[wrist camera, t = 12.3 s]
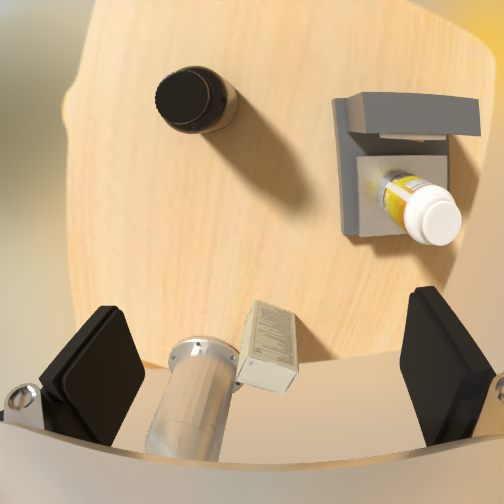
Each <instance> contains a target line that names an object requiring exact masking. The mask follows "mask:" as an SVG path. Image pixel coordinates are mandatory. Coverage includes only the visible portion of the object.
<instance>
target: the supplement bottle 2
mask: <svg viewBox="0 0 504 504" xmlns="http://www.w3.org/2000/svg"><path fill="white" fill-rule="evenodd" d="M382 199H383V206H384V209H385V211H386V212H387V214H388V215H389V216H390V217H391V218H392V219H393V220H394V221H395V222H396V223H397V224H398V225H399V226H400V227H401V228H402V229H403V230H404V231H405V232H406V233H407V234H409V235H410V236H411V237H412V238H413V239H414V240H415V241H417V242H419V243H421V244H424V245H436V246H444V245H447V244H449V243H451V242H452V241H453V240H454V239H455V238H456V237H457V236H458V234H459V232H460V229H461V225H462V217H461V213H460V211H459V209H458V207H457V206H456V203H455V201H454V198H453V197H452V195H451V194H450V193H449V192H448V191H447V190H446V189H444V188H442V187H440V186H438V185H436V184H434V183H432V182H429V181H427V180H425V179H422V178H420V177H418V176H415V175H413V174H408V173H403V174H399V175H396V176H394V177H393V178H392V179H391V180H390V181H389V182H388V183H387V184H386V186H385V188H384V191H383V197H382Z"/></svg>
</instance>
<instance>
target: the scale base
mask: <svg viewBox="0 0 504 504" xmlns="http://www.w3.org/2000/svg"><path fill="white" fill-rule="evenodd" d="M332 107H333V116H334V125H335V136H336V147H337V159H338V173H339V189H340V208H341V231H342V233H343V235H344V236H349V235H358V201H357V179H356V161H355V156H366V155H446V156H447V191H448V192H449V140H448V134H452V135H469V136H481V129H480V113H479V101H478V99H472V98H464V97H455V96H445V95H433V94H418V93H396V92H361V93H359V94H356V95H354V96H351V97H349V98H336V99H333V100H332Z"/></svg>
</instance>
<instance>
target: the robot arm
mask: <svg viewBox="0 0 504 504" xmlns="http://www.w3.org/2000/svg"><path fill="white" fill-rule="evenodd" d="M239 355H240V354H239V353H238V352H237V351H236V350H235V349H234V348H232V347H231V346H229V345H228V344H226V343H224V342H222V341H220V340H216V339H213V338H209V337H190V338H187V339H184V340H182V341H180V342H178V343H177V344H176V345H175V346H174V347H173V349H172V351H171V353H170V355H169V360H168V364H169V369H170V371H171V373H172V375H171V378H170V380H169V382H168V385H167V387H166V389H165V392H164V394H163V396H162V399H161V401H160V404H159V406H158V408H157V411H156V413H155V415H154V418H153V421H152V423H151V425H150V428H149V430H148V433H147V435H146V438H145V452H146V454H144V453H138V452H133V451H127V450H122V449H117V448H113V447H111V445H112V443H113V441H114V439H115V437H116V435H117V433H118V431H119V429H120V427H121V425H122V423H123V421H124V419H125V416H126V414H127V412H128V410H129V408H130V406H131V404H132V402H133V400H134V398H135V396H136V394H137V392H138V390H139V388H140V386H141V384H142V382H143V380H144V378H145V370H144V367H143V364H142V362H141V359H140V357H139V354H138V352H137V349H136V346H135V344H134V341H133V339H132V336H131V333H130V330H129V328H128V325H127V322H126V319H125V316H124V313H123V312H122V311H121V310H119V308H118V307H117V306H100V307H99V308H98V309H97V310H96V311H95V312H94V314H93V315H92V316H91V317H90V318H89V319H88V320H87V321H86V323H85V324H84V325H83V326H82V327H81V328H80V329H79V331H78V332H77V333H76V334H75V335H74V336H73V338H72V339H71V340H70V341H69V342H68V343H67V345H66V346H65V347H64V348H63V349H62V350H61V352H60V353H59V354H58V355H57V356H56V358H55V359H54V360H53V361H52V363H51V364H50V365H49V366H48V368H47V369H46V370H45V371H44V372H43V374H42V375H41V376H40V377H39V380H40V382H41V383H42V385H43V387H42V389H41V390H40V388H39V387H38V386H37V385H35V384H33V383H26V384H22V385H19V386H17V387H15V388H14V389H13V390H11V392H10V393H9V394H8V395H7V397H6V399H5V403H4V410H3V411H0V504H504V372H503V373H501V374H498V375H496V373H495V372H494V370H493V369H492V367H491V365H490V364H489V362H488V361H487V359H486V358H485V356H484V354H483V353H482V351H481V350H480V348H479V347H478V346H477V344H476V343H475V341H474V340H473V338H472V337H471V335H470V334H469V332H468V331H467V330H466V328H465V327H464V325H463V324H462V323H461V322H460V320H459V319H458V318H457V316H456V314H455V313H454V312H453V310H452V309H451V308H450V306H449V305H448V304H447V302H446V301H445V300H444V298H443V297H442V296H441V294H440V293H439V292H438V291H437V289H436V288H435V287H434V286H426V287H418V288H416V289H415V292H414V293H411V294H410V296H409V304H408V311H407V319H406V325H405V332H404V338H403V344H402V350H401V356H400V370H401V372H402V375H403V378H404V381H405V383H406V386H407V389H408V392H409V395H410V397H411V400H412V403H413V406H414V409H415V412H416V415H417V418H418V421H419V424H420V427H421V430H422V433H423V436H424V440H425V443H426V446H427V447H425V448H420V449H415V450H410V451H404V452H399V453H393V454H387V455H380V456H374V457H367V458H359V459H350V460H341V461H330V462H316V463H297V464H240V463H220V462H218V459H219V454H220V449H221V445H222V440H223V435H224V430H225V425H226V421H227V416H228V411H229V406H230V401H231V396H232V393H234V392H235V391H237V390H238V389H239V388H240V387H241V386H242V385H243V383H241V382H238V381H236V373H237V367H238V361H239Z"/></svg>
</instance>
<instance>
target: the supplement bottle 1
mask: <svg viewBox="0 0 504 504" xmlns="http://www.w3.org/2000/svg"><path fill="white" fill-rule="evenodd" d="M155 104H156V108H157V109H158V112H159V113H160V114H161V116H162V117H163V119H164V120H165V122H166V123H167V124H168V125H169V126H170V127H172V128H173V129H175V130H176V131H179V132H182V133H186V134H198V133H205V132H212V131H216V130H219V129H221V128H223V127H225V126H226V125H228V124H229V123H230V122H231V121H232V120H233V118H234V116H235V115H236V112H237V109H238V96H237V93H236V91H235V89H234V88H233V86H232V85H231V84H230V83H229V82H228V81H226V80H225V79H224V78H223V77H221V76H220V75H219V74H217V73H216V72H214V71H213V70H211V69H209V68H206V67H202V66H189V67H185V68H182V69H180V70H178V71H176V72H174V73H171V74H170V75H167V77H166V78H164V79H163V80H162V82H160V84H159V86H158V87H157V91H156V96H155Z"/></svg>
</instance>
